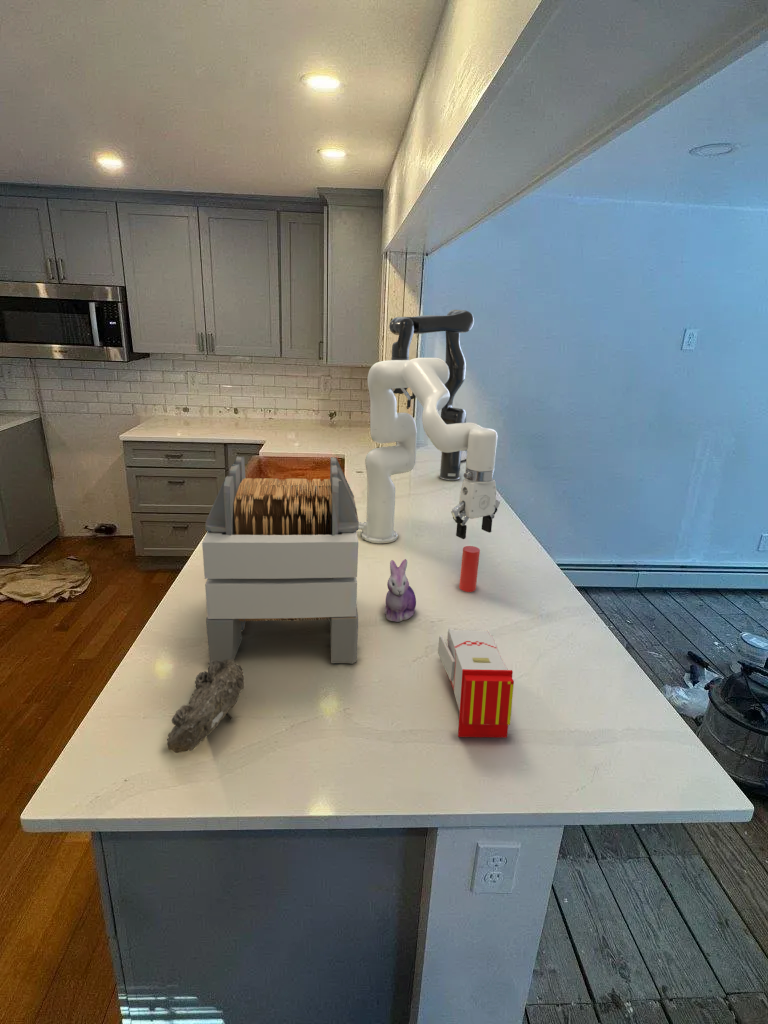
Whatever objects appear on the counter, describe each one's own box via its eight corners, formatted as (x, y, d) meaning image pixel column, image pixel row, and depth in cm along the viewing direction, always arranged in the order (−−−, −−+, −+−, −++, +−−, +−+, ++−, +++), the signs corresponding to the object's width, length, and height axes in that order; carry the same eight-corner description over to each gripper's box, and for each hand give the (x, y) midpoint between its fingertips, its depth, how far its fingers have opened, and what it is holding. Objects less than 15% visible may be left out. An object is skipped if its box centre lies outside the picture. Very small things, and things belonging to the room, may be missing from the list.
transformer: (229, 593, 154) (221, 446, 140) (350, 592, 157) (353, 448, 144) (206, 668, 122) (192, 488, 108) (358, 664, 126) (363, 489, 112)
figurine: (392, 627, 141) (395, 572, 136) (374, 608, 149) (376, 556, 144) (425, 619, 145) (429, 566, 140) (405, 601, 154) (408, 550, 149)
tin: (475, 592, 161) (480, 553, 156) (458, 590, 161) (462, 551, 157) (475, 585, 165) (479, 546, 161) (459, 583, 166) (463, 545, 161)
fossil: (192, 660, 117) (244, 628, 112) (224, 691, 120) (276, 661, 115) (142, 746, 98) (202, 712, 93) (182, 779, 101) (242, 748, 96)
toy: (488, 613, 130) (523, 677, 101) (484, 667, 133) (517, 744, 104) (435, 612, 130) (455, 676, 101) (432, 666, 133) (451, 743, 103)
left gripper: (465, 482, 144) (459, 544, 150) (512, 474, 153) (505, 532, 159) (445, 475, 150) (441, 535, 155) (492, 467, 159) (486, 524, 165)
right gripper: (417, 368, 235) (414, 407, 241) (383, 366, 236) (381, 405, 242) (416, 370, 228) (414, 410, 234) (381, 368, 229) (379, 408, 235)
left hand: (473, 534), depth 157 cm, fingers open, 9 cm apart
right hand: (397, 408), depth 238 cm, fingers open, 8 cm apart
